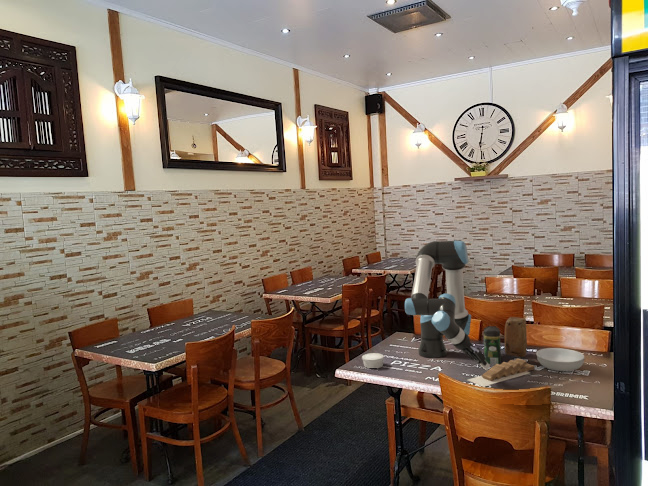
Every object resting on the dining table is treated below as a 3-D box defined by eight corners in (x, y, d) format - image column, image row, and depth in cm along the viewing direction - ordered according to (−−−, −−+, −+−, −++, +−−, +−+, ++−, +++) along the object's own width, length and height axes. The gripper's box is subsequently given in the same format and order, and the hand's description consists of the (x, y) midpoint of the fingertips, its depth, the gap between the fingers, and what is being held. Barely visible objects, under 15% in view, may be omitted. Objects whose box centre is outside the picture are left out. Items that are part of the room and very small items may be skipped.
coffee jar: (484, 359, 249) (483, 324, 248) (501, 360, 246) (500, 325, 245) (484, 366, 240) (483, 329, 239) (501, 367, 237) (500, 330, 236)
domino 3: (505, 374, 220) (519, 362, 224) (496, 371, 225) (510, 359, 229) (506, 377, 221) (520, 365, 225) (497, 373, 225) (511, 362, 229)
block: (527, 354, 253) (527, 317, 252) (525, 358, 247) (524, 320, 246) (506, 352, 259) (505, 315, 258) (503, 356, 253) (502, 319, 251)
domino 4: (512, 372, 222) (526, 360, 226) (503, 369, 227) (517, 358, 231) (513, 375, 223) (526, 363, 227) (504, 372, 227) (518, 361, 231)
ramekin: (360, 369, 246) (359, 359, 245) (365, 362, 256) (365, 352, 256) (381, 370, 242) (381, 360, 241) (386, 363, 252) (386, 353, 252)
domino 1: (489, 378, 216) (504, 366, 220) (481, 375, 221) (496, 363, 225) (491, 381, 217) (505, 369, 221) (482, 378, 221) (497, 366, 225)
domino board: (482, 388, 211) (482, 386, 211) (466, 381, 220) (466, 379, 220) (531, 374, 224) (530, 372, 224) (513, 369, 233) (513, 367, 233)
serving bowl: (526, 366, 237) (526, 352, 236) (557, 358, 245) (557, 345, 244) (562, 379, 218) (562, 364, 217) (595, 370, 226) (594, 356, 225)
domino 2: (497, 376, 218) (512, 364, 222) (489, 373, 223) (503, 361, 227) (498, 379, 219) (513, 367, 223) (490, 376, 223) (504, 364, 227)
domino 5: (519, 370, 224) (534, 365, 229) (510, 367, 229) (525, 363, 233) (519, 373, 225) (534, 369, 229) (510, 370, 229) (525, 366, 233)
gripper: (443, 341, 215) (472, 370, 224) (464, 348, 203) (494, 378, 212) (452, 327, 217) (481, 357, 226) (473, 334, 205) (502, 364, 214)
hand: (487, 367), depth 219 cm, fingers closed
